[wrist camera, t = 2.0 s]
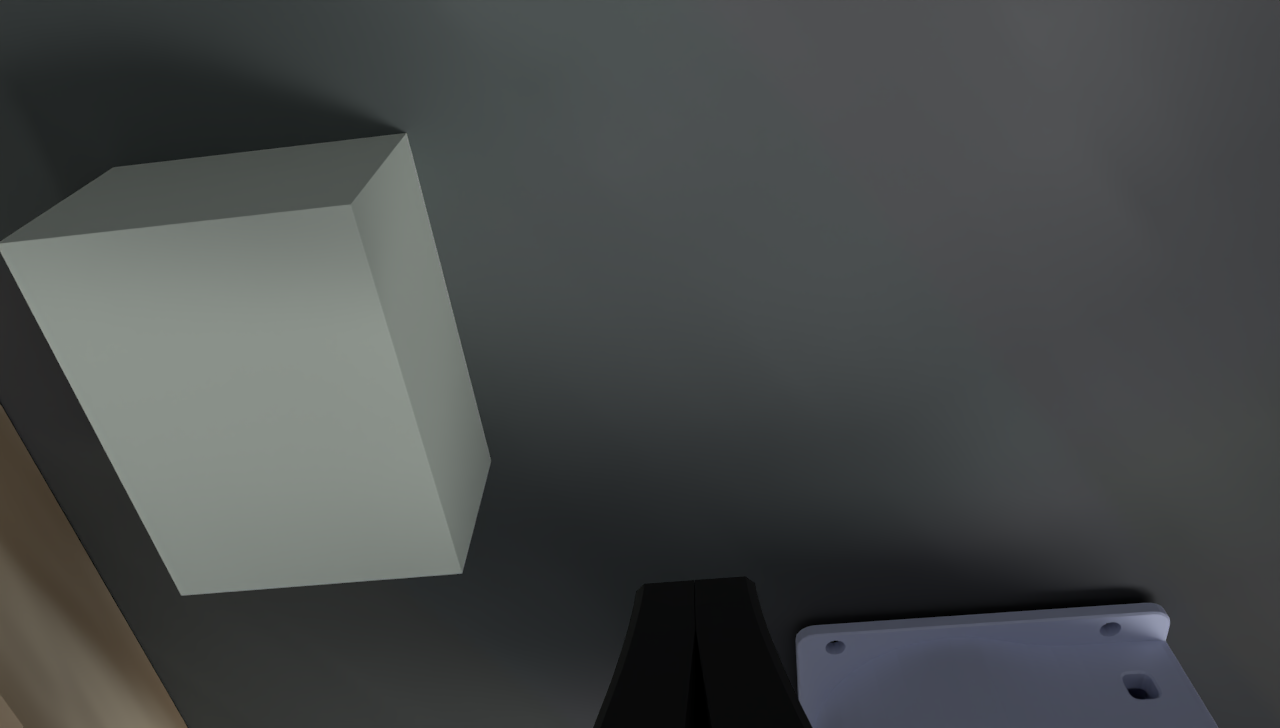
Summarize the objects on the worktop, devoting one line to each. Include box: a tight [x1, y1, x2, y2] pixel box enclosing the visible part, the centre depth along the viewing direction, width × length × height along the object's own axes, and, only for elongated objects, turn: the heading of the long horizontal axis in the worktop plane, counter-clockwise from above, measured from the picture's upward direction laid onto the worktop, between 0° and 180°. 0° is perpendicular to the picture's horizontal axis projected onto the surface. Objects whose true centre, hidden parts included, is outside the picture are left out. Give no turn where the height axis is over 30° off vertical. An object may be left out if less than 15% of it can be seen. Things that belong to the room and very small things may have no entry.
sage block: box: [0, 133, 491, 596], centre depth 18 cm, size 6×8×4 cm
